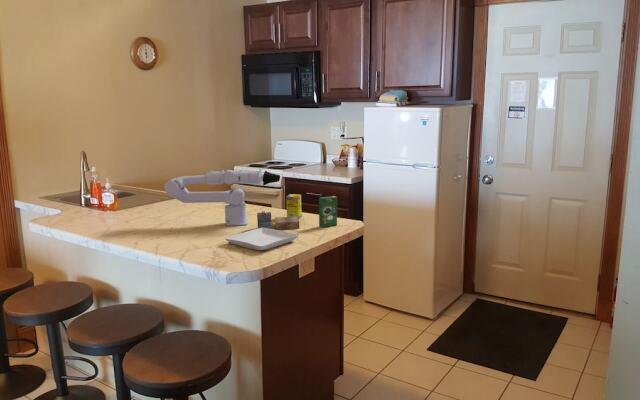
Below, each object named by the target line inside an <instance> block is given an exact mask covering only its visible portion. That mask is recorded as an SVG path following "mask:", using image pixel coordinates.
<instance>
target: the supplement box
mask: <svg viewBox="0 0 640 400" xmlns="http://www.w3.org/2000/svg"><path fill="white" fill-rule="evenodd" d="M285 199H286V217H297V216H298V219H299V220H300V218H302V217H303V216H302V214H303V213H302V194H298V193H297V194H295V193H293V194H292V193H289V194H288V195H286V197H285Z"/></svg>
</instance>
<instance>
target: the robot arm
mask: <svg viewBox="0 0 640 400" xmlns="http://www.w3.org/2000/svg"><path fill="white" fill-rule="evenodd" d="M280 180H281V174H277V173H272V172H269V171H266V170H264V172H262V169H261V168H259V169H258V171H255V170H232V169H226V170H224V169H221V170H220V171H214V170H210V171H207V172H206V174H202V175H183V176H182V175H181V176H179V177H172V178H171V179H170V180H168V181H167V182H165V183H164V187H163V188H164V191H165V192H166V194H167V195H168V196H169V197H170V198H174V199H176V200H177V201H180V202H181V203H184V204H186V203H187V204H190V203H191V204H192V203H194V204H195V203H197V204H198V203H199V204H200V203H203V204H204V203H224V204H225V205H224V214H225V216H224V217H225V218H224V221H225V226H227V227H228V226H230V227H231V226H247V225H248V221H249V220H248V219H247V206H246V202H245V200H244V199H245V198H246V197H245V196H246V193H245V191H244V190H243V189H241V188H240V187H237V188H234V189H232V190H231V189H230V190H226V191H224V190H223V191H189V190H188V188H186V186H189V185H192V184H193V185H194V184H203V183H206V185H209V186H213V185H223V184H224V183H225V184H227V185H229V186H230V185H232V184H240V185H241V184H245V185H247V184H248V185H249V184H250V185H263V186H266V185H268V184H271V183H278V182H280Z"/></svg>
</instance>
